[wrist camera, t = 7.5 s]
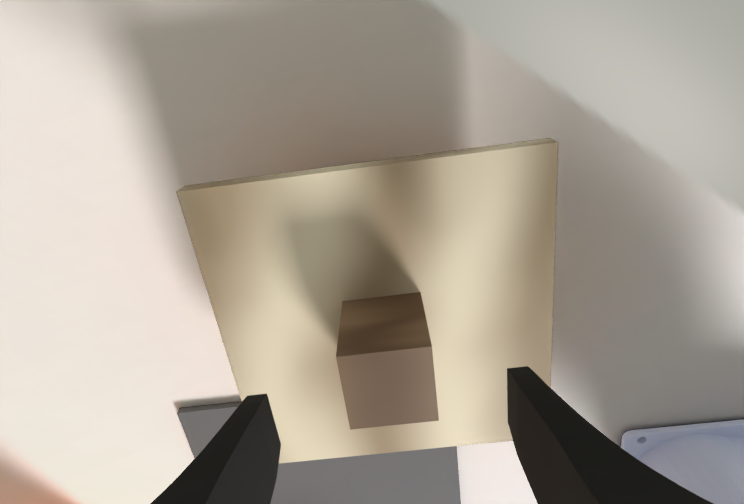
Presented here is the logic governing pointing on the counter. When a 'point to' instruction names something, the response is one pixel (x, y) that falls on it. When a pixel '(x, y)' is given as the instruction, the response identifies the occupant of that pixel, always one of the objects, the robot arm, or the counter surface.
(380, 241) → the lid
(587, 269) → the counter surface
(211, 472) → the robot arm
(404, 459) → the mat
